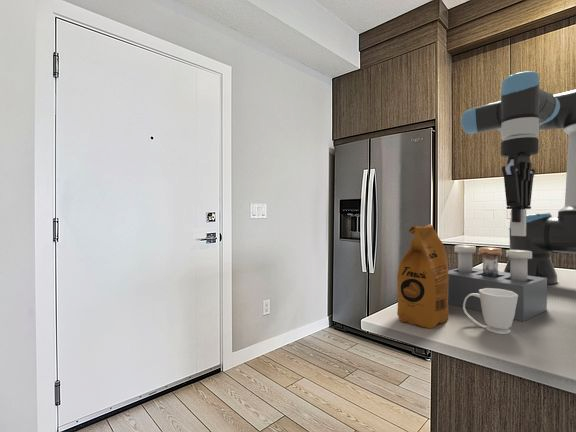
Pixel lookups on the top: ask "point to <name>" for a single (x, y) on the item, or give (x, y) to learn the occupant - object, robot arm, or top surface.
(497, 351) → the top surface
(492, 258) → the brown lidded jar
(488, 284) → the grey pod holder
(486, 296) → the cup
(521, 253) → the knob
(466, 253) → the knob
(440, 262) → the coffee package
